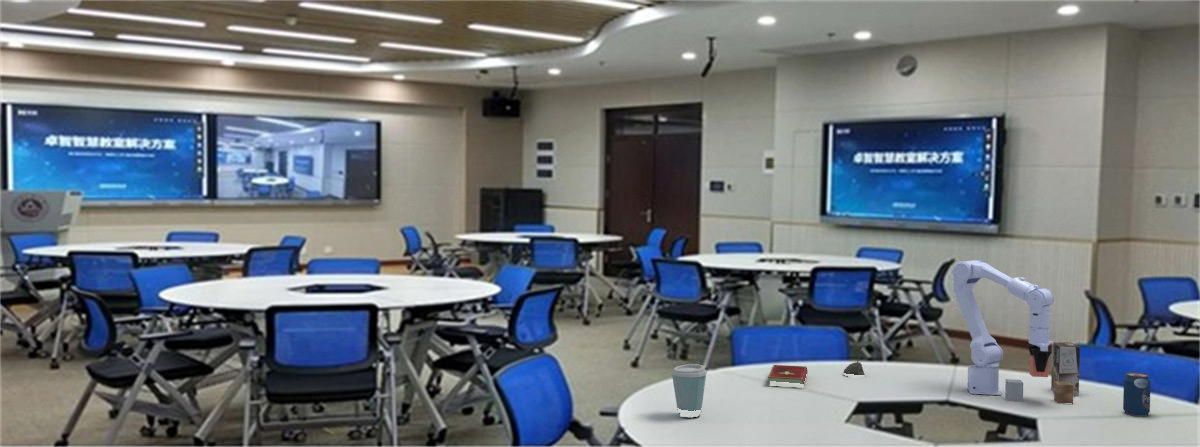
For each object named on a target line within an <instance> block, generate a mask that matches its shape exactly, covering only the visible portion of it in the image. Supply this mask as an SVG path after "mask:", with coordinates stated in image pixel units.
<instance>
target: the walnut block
mask: <svg viewBox="0 0 1200 447" xmlns="http://www.w3.org/2000/svg"><path fill="white" fill-rule="evenodd" d="M1073 388H1074V385H1073V384H1071V383H1070V382H1055V381H1054V391H1053V394H1054V395H1053V401H1055V402H1056V404H1061V403H1072V404H1071V405H1073V404H1074V396H1073Z"/></svg>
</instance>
